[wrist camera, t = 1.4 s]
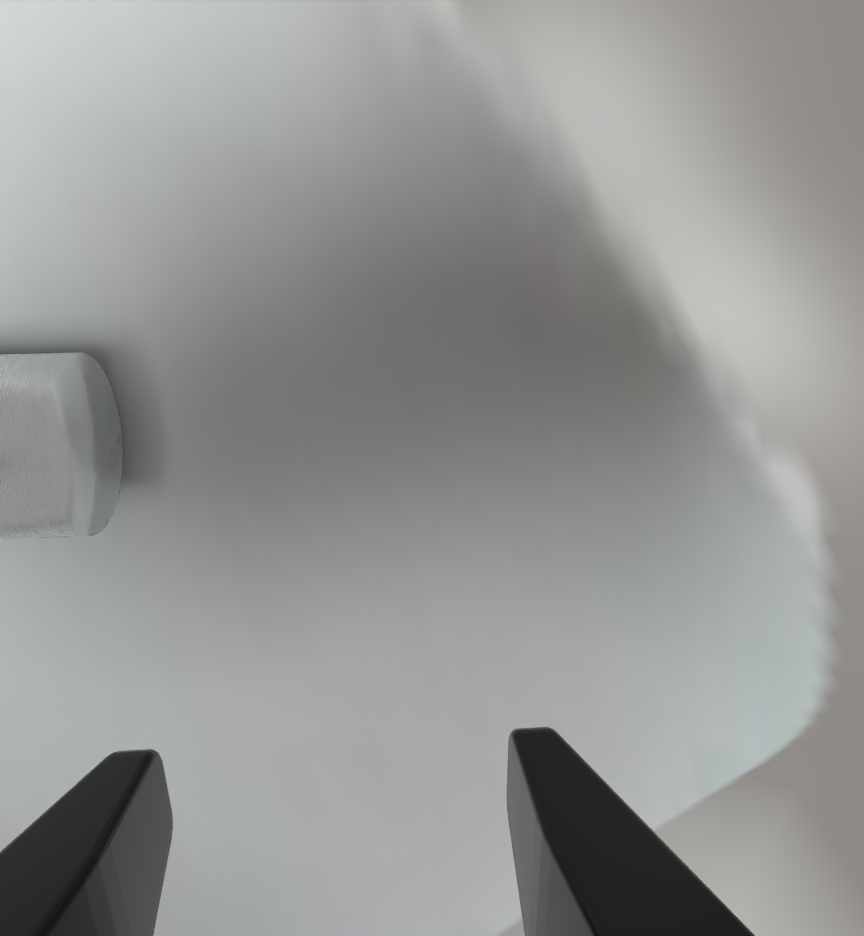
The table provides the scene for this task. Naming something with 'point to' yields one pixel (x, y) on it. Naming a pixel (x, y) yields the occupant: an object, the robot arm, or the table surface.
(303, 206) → the table surface
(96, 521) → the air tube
